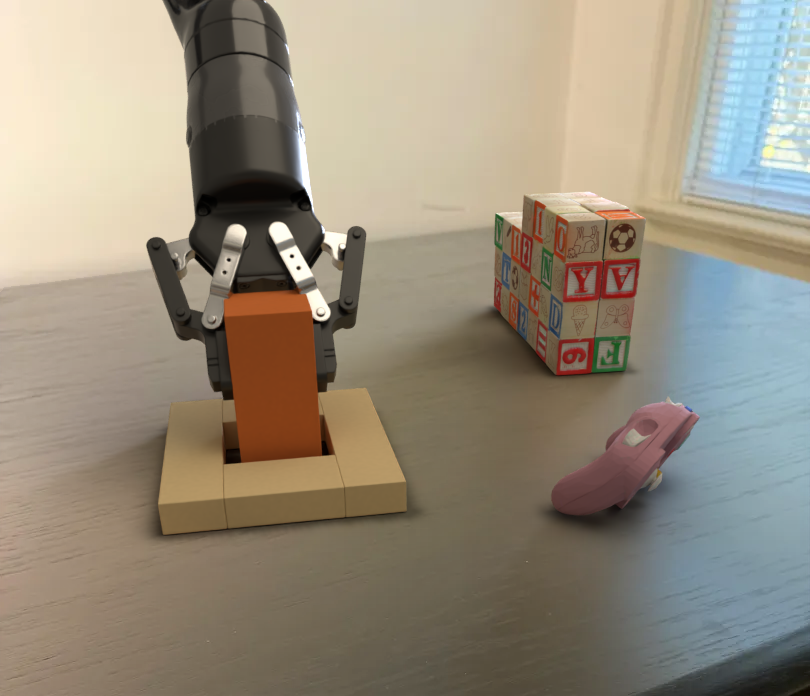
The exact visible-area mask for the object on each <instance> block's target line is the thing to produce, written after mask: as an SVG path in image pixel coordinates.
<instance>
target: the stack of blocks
mask: <svg viewBox="0 0 810 696" xmlns="http://www.w3.org/2000/svg"><path fill="white" fill-rule="evenodd" d="M522 200H523V202H522V211H510V212H507V211H506V212H495V214H494V237H493V243H494V246H495V247H494V268H493V269H494V271H493V275H494V283H493V284H494V287H493V306H494V308H495V309H496V310H498V312H499V313H500V315H501V316H502V317H503V319H505V321H506V322H508V323H509V325H510V326H511V327H512V328H513V330H515V332H516V333H518V334H519V335H520V336H521V338H522V339H523V340H524V341H525V342H526V343H527V344H528V345H529V346H530V347H531V348H532V349H533V350H534V351H535V353H536V355H537V356H538V357H539V358H540V359H541V360H542V362H544V364H545V365H546V366H547V368H549V370H550V371H551V372H552V373H553V374H554V375H555V376H569V375H570V376H571V375H582V374H591V373H593V374H595V373H610V372H625V371H626V370H628V369H627V368H628V361H629V355H630V347H631V340H632V335H631V331H632V325H633V319H634V310H635V301H636V296H637V294H638V288H639V287H638V286H639V278H640V271H641V270H640V269H641V264H642V263H641V262H642V260H641V257H642V252H643V251H642V250H643V245H644V244H643V243H644V237H645V231H646V230H645V229H646V222H647V218H646V217H644V216H642V215H640V214H638V213H635V212H633V211H631V208H630V207H628V206H626V205H624V204H622V203H619V202H617V201H612V200H610V199H607V198H605V197H602V196H600V195H598V194H595V193H593V192H592V191H574V192H558V193H557V192H554V193H531V194H523V199H522Z"/></svg>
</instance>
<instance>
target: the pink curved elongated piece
mask: <svg viewBox="0 0 810 696" xmlns="http://www.w3.org/2000/svg"><path fill="white" fill-rule="evenodd" d="M699 419H700V415H698V414H697V413H696V412H694V410H693V409H692V408H691V407H689V406H688V405H686V406H685V405H684V404H683V402H676V403H674V402H673V401H672V400H671V398H670V396H669V395H668V396H667V397H666V398H665V400H664V401H659V402H655V403H648V404H646V405H644V406H641V407H639V408H638V409H635V411H633V412H632V413H631V415H630V416H629V418H628V420H627V421H626V424H625V425H623V426H620V427H619V428H617V429H616V430H614V431H613V432H612V433H611V435H610V436H608V438H607V440H606V443H605V451H604V452H603V453H602V454H601V455H599V456H598V457H596V458H595V459H594V460H592V461H591V462H589V463H587V464H586V465H584V466H582V467H580V468H578V469H576V470H574V471H572V472H571V473H568V474H567V475H564V476H563V477H561V478H560V479H559V480H558V481H557V482H556V483H555V484H554V486H553V488H552V490H551V494H550V497H551V498H550V499H551V503H552V505H553V507H554V509H555V510H556V511H558V512H560V513H561V514H565V515H569V516H587V515H591V514H595V513H598V512H600V511H604V510H606V509H608V508H610V507H612V506H614V505H616V507H618V508H619V509H621V510H623V509H624V508H625V507H626V505H628V503H630V501H631V500H632V499H633V497H634V496H635V495H636V494H637V492H638V491H639V490H642V489H645V488H646V487H648V486H649V487H648V489H647V492H651V491H653V490H656V489H657V488H658V486H659V485H660V484H661V482H662V479H663V471H661V470H660V469H661V467H662V466H663V465H664V464H665V462H666V461H667V460H668V459H669V457H671V455H672V454H673V453H674V452H676V451H678V450H680V448H681V447H682V446H683V445H684V444H685V442H686V441H687V440H688V438H689V437H690V436H691V432H692V430H693V429H694V427H695V426H696V424H697V423H698V421H699Z"/></svg>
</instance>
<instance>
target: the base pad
mask: <svg viewBox="0 0 810 696" xmlns="http://www.w3.org/2000/svg"><path fill="white" fill-rule="evenodd" d="M318 404H319V419H320V434H321V442H325V444H326V448H327V453H328V454H327V455H322V456H317V457H305V458H293V459H282V460H270V461H259V462H247V463H241V462H238V463H237V462H236V463H227V450H234V449H240V447H239V439H238V430H237V422H236V413H235V405H234V400H225V401H223V398H213V399H202V400H199V399H198V400H189V401H188V400H186V401H174V402H173V401H172V402H170V406H169V412H168V413H169V414H168V422H167V430H166V437H165V446H164V453H163V461H162V469H161V477H160V485H159V492H158V499H157V508H158V515H159V519H160V525H161V531H162V535H164V536H165V535H167V536H168V535H177V534H186V533H188V534H189V533H198V532H207V531H218V530H226V529H238V528H239V529H240V528H249V527H259V526H268V525H279V524H289V523H291V524H292V523H300V522H301V523H302V522H310V521H311V522H312V521H320V520H328V519H329V520H330V519H342V518H354V517H362V516H363V517H364V516H374V515H383V514H384V515H385V514H394V513H395V514H396V513H402V512H404V513H405V512H407V510H408V509H407V481H406V478H405V475H404V472H403V471H402V469H401V466H400V464H399V461H398V459H397V456H396V454H395V452H394V449H393V446H392V444H391V443H390V439H389V438H388V436H387V433H386V431H385V428H384V426H383V424H382V421H381V419H380V417H379V415H378V412H377V410H376V408H375V405H374V403H373V400H372V398H371V396H370V393H369V390H368V389H367V387H357V388H345V389H331V390H330V389H329V390H327V392H321V393H318Z"/></svg>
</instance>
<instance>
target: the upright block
mask: <svg viewBox="0 0 810 696" xmlns="http://www.w3.org/2000/svg"><path fill="white" fill-rule="evenodd" d="M224 320H225V329H226V337H227V346H228V354H229V363H230V371H231V379H232V385H233V396H234V405H235V413H236V422H237V430H238V439H239V447H240V448H239V453H240V463H247V462H259V461H270V460H282V459H293V458H305V457H317V456H323V450H322V448H323V447H322V441H321V434H320V419H319V404H318V390H317V375H316V360H315V346H314V331H313V316H312V309H311V307H310V304H309V301H308V298H307V295H306V294H299V293H297V292H296V291H294V290H285V291H269V292H252V293H236V294H233V295H232V296H231V297H230V298H229V299H224Z"/></svg>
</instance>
